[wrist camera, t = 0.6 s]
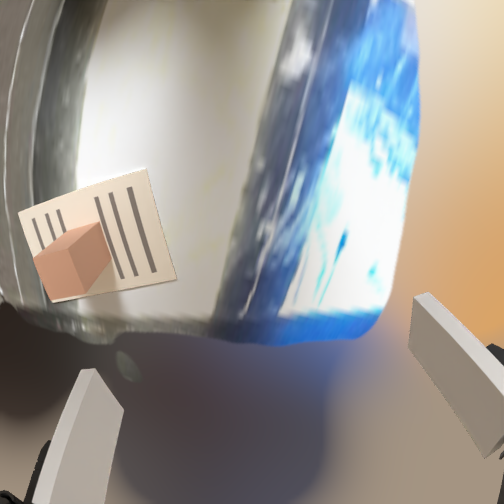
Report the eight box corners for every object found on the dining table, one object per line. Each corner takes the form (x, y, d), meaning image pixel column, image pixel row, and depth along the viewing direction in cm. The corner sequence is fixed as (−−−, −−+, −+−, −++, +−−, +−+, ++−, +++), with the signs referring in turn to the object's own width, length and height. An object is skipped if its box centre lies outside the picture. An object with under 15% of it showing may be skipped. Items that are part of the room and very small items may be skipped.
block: (67, 230, 33) (32, 258, 25) (99, 221, 34) (67, 248, 25) (80, 265, 35) (50, 300, 27) (111, 258, 35) (85, 293, 27)
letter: (19, 212, 32) (17, 212, 32) (146, 168, 32) (145, 169, 32) (53, 301, 37) (52, 302, 37) (176, 278, 38) (176, 279, 37)
